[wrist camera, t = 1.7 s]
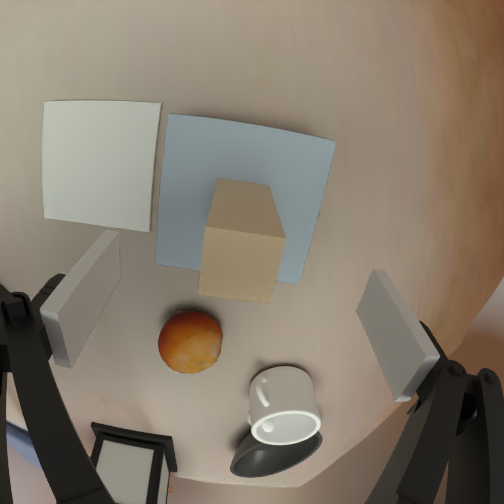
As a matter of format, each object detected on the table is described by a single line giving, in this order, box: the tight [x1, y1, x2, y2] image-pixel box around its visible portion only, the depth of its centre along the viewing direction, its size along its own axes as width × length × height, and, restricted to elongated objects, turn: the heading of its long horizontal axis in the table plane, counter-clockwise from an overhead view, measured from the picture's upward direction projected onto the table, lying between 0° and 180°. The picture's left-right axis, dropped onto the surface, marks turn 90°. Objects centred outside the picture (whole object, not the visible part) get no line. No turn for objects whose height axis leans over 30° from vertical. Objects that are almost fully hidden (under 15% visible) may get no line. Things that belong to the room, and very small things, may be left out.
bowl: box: [230, 431, 322, 478], centre depth 51 cm, size 12×22×6 cm, turn 147°
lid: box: [156, 113, 336, 304], centre depth 21 cm, size 13×13×11 cm
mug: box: [247, 366, 321, 445], centre depth 42 cm, size 12×10×9 cm
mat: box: [42, 100, 162, 232], centre depth 31 cm, size 14×14×1 cm
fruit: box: [158, 310, 223, 374], centre depth 38 cm, size 8×8×8 cm
